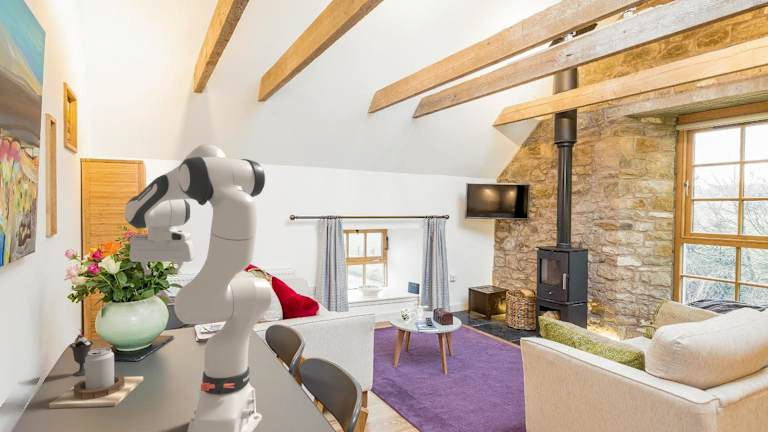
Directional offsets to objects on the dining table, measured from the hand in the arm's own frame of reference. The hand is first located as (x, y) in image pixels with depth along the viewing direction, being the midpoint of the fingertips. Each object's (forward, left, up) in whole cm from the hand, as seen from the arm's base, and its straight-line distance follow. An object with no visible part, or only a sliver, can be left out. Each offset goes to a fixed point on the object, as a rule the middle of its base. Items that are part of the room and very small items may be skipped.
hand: (162, 274), depth 149 cm
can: (-15, +13, -33) cm, 38 cm away
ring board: (-15, +13, -34) cm, 39 cm away
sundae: (+1, +27, -34) cm, 44 cm away
